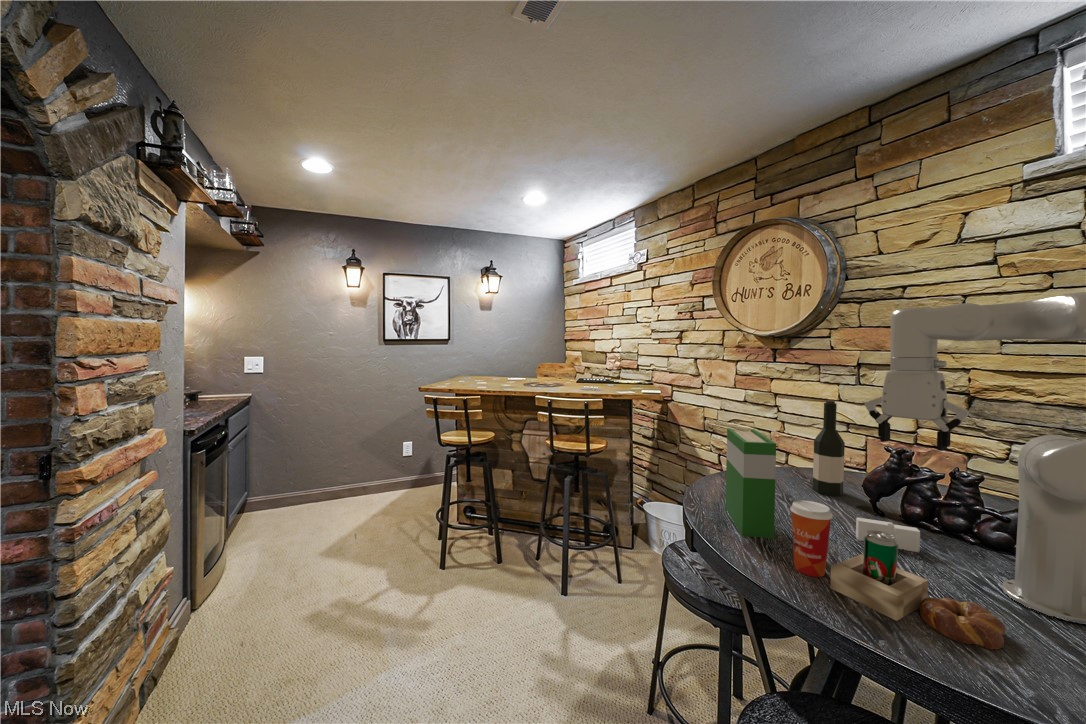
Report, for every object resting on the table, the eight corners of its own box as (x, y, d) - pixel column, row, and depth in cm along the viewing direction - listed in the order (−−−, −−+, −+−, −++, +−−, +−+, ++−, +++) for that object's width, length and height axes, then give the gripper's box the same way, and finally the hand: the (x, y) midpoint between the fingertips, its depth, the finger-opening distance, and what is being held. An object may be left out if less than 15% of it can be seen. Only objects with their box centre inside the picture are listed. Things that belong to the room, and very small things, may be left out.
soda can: (883, 589, 83) (885, 529, 82) (902, 604, 78) (905, 541, 77) (856, 587, 83) (858, 528, 83) (873, 603, 78) (876, 540, 78)
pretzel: (936, 601, 79) (937, 582, 79) (1020, 638, 70) (1022, 616, 70) (904, 619, 74) (905, 599, 74) (990, 661, 64) (991, 638, 64)
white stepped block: (841, 538, 105) (842, 516, 105) (867, 530, 110) (867, 508, 110) (914, 567, 92) (915, 541, 92) (940, 556, 97) (941, 532, 96)
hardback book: (725, 508, 123) (727, 428, 122) (752, 510, 122) (754, 429, 121) (742, 535, 106) (744, 442, 105) (773, 538, 105) (776, 443, 103)
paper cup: (780, 564, 92) (781, 502, 92) (805, 558, 95) (806, 497, 94) (814, 583, 85) (816, 515, 84) (840, 576, 88) (842, 510, 87)
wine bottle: (806, 488, 140) (809, 399, 139) (825, 486, 143) (827, 398, 141) (830, 497, 132) (833, 403, 131) (849, 494, 135) (852, 402, 133)
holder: (927, 603, 78) (928, 580, 78) (896, 620, 73) (897, 596, 73) (861, 574, 88) (861, 553, 88) (830, 588, 83) (830, 566, 83)
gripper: (975, 366, 84) (974, 450, 84) (873, 364, 99) (872, 436, 99) (962, 367, 80) (961, 456, 81) (858, 365, 95) (857, 440, 96)
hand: (912, 445), depth 90 cm, fingers open, 9 cm apart
